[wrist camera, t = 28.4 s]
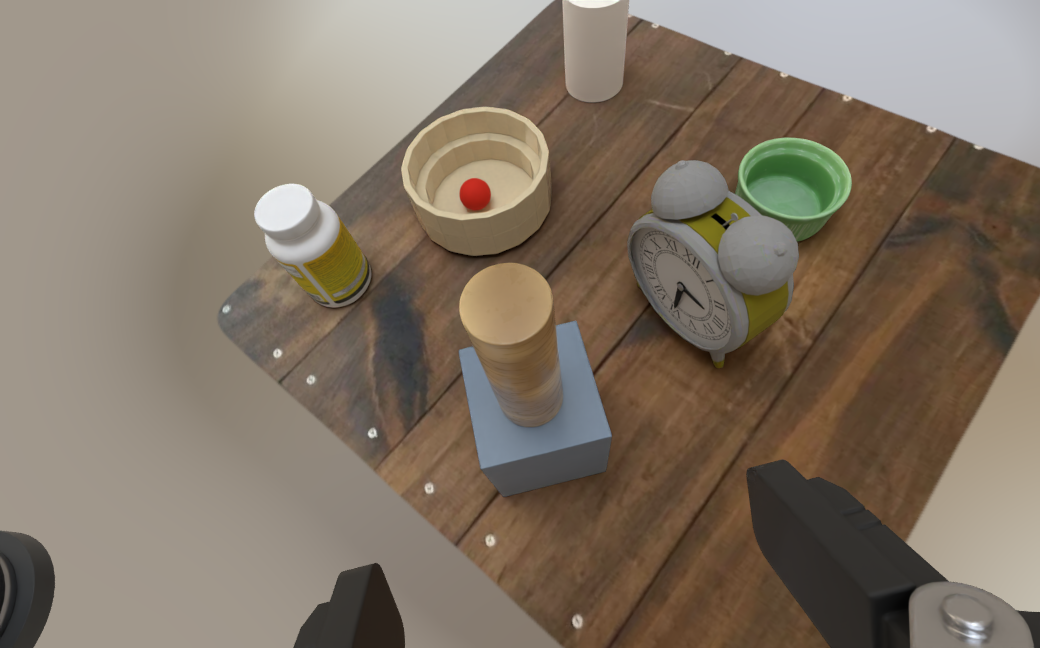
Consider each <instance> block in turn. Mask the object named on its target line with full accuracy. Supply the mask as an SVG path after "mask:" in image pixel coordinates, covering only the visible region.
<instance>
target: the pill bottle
mask: <svg viewBox="0 0 1040 648" xmlns="http://www.w3.org/2000/svg"><path fill="white" fill-rule="evenodd" d="M255 220H256V223H257V224H258V225H259V226H260V228H261V229H262V230H263V232H264V233H265V242H266V246H267V248H268V250H269V252H270V253H271V254H272V256H273V257H274V258H275V259H276V260H277V261H278V262H279V263H280V264H281V265H282V267H283V268H284V269H285V270H286V271H287V272H288V273H289V274H290V275H291V276H292V277H293V279H295V281H296V282H297V283H298V284H299V285H300V286H301V287H302V288H303V289H304V290H305V291H306V292H307V294H309V296H310V297H311V298H312V299H313V300H314V301H316V302H317V303H319V304H321V305H323V306H326V307H342V306H345V305H348V304H351V303H353V302H354V301H356V300H357V299H358V298H359V297H360V296H361V295H362V294H363V293H364V292H365V291H366V289H367V287H368V285H369V283H370V280H371V267H370V264H369V262H368V261H367V259H366V257H365V255H364V254H363V253H362V251H361V250H360V248H359V247H358V245H357V244H356V242H355V241H354V239H353V238H352V236H351V235H350V233H349V232H348V230H347V229H346V227H345V226H344V224H343V223H342V221H341V220H340V218H339V217H338V215H337V214H336V212H335V211H334V210H333V209H332V208H331V207H330V206H329V205H327V204H326V203H324V202H321V201H318V200H316V199H315V197H314V196H313V195H312V193H311V192H310V191H309V190H308V189H307V188H306V187H304V186H302V185H299V184H285V185H281V186H278V187H276V188H274V189H272V190H270V191H268V192H267V193H266V194H265V195H264V196H263V197H262V198H261V199H260V201H259V202H258V204H257V206H256V208H255Z"/></svg>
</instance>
